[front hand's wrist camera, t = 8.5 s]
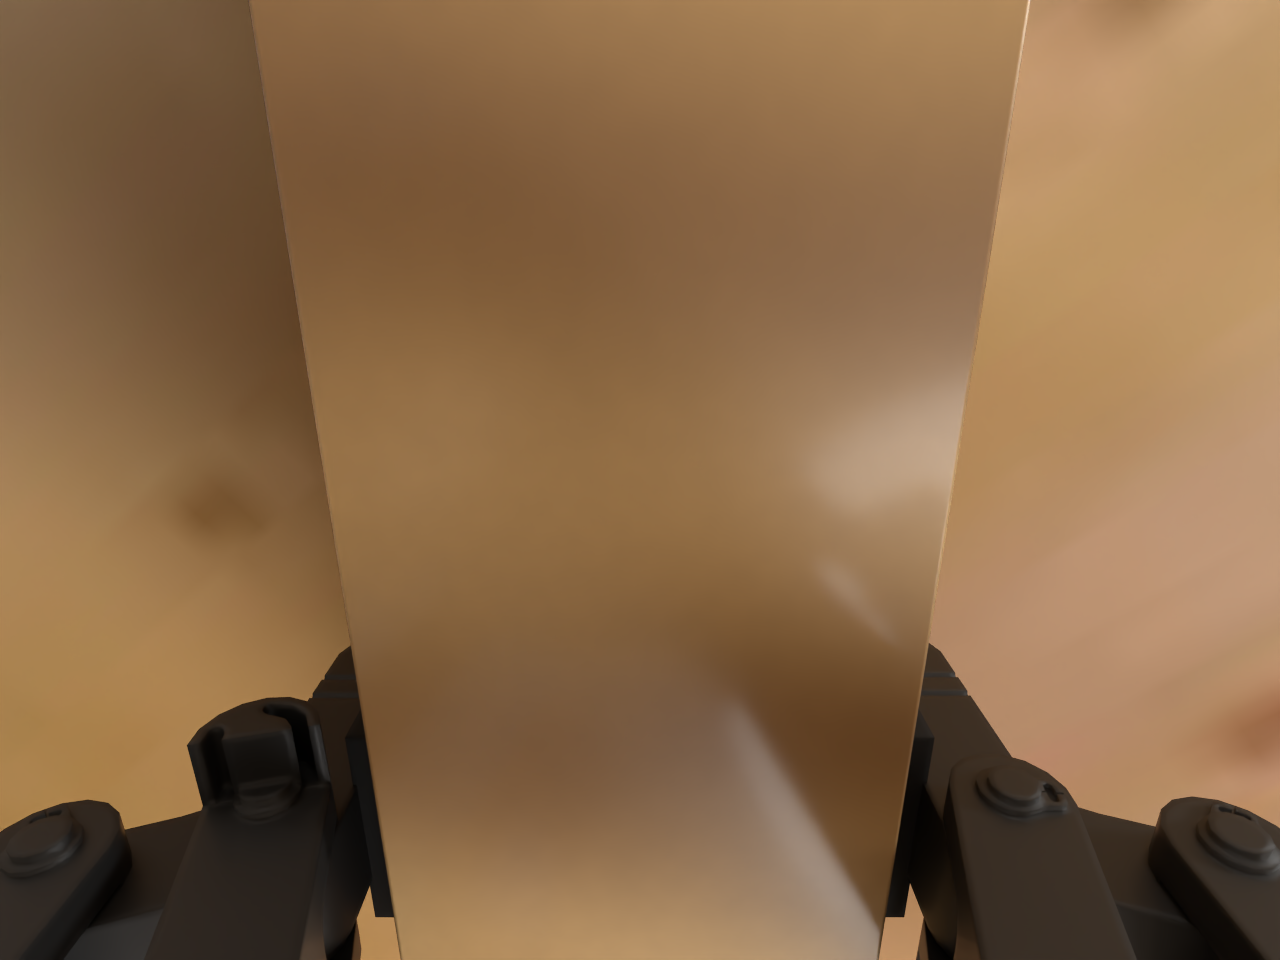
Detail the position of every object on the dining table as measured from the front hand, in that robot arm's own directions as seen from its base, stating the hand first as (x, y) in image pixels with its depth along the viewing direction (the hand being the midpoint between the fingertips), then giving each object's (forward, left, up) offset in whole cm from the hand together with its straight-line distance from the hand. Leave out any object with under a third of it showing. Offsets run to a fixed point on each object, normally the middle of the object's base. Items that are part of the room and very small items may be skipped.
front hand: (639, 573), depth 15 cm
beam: (+22, +10, -1) cm, 24 cm away
